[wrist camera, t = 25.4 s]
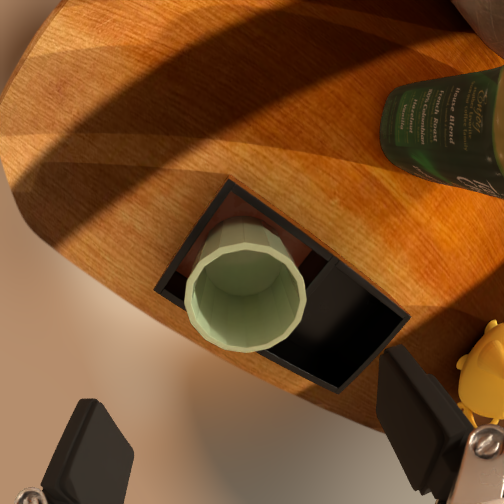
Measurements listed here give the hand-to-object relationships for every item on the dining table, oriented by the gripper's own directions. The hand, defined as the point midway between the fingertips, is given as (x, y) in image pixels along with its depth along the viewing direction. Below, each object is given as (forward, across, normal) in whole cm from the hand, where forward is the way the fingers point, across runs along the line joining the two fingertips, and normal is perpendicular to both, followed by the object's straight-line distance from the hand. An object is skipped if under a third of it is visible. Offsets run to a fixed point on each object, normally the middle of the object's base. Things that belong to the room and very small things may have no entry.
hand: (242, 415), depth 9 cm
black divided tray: (+18, -4, +4) cm, 18 cm away
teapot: (+17, -28, +21) cm, 39 cm away
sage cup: (+17, -1, 0) cm, 17 cm away
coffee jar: (+18, -18, -7) cm, 26 cm away
